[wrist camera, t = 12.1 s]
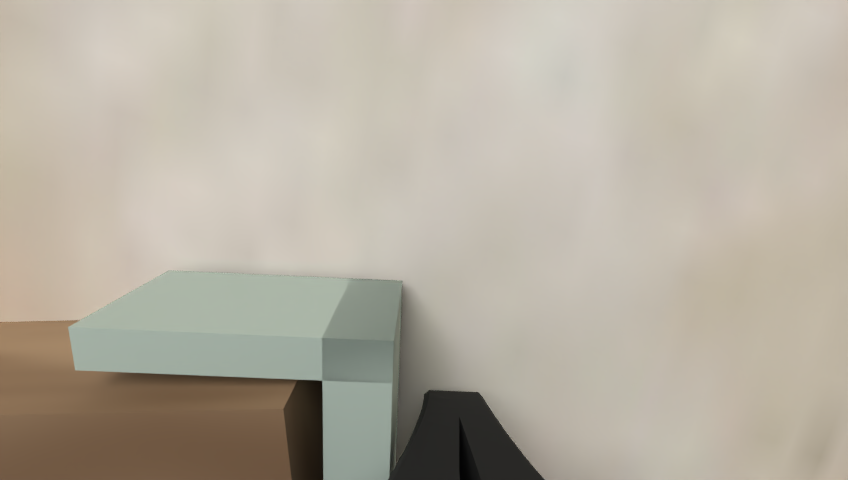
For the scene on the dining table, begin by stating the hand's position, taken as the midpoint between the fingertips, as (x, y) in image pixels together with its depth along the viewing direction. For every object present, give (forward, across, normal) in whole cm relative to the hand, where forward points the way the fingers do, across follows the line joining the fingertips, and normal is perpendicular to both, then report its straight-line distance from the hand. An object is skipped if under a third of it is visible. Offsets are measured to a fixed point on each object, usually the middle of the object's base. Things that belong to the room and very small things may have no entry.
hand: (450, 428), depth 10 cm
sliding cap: (+1, +4, 0) cm, 4 cm away
